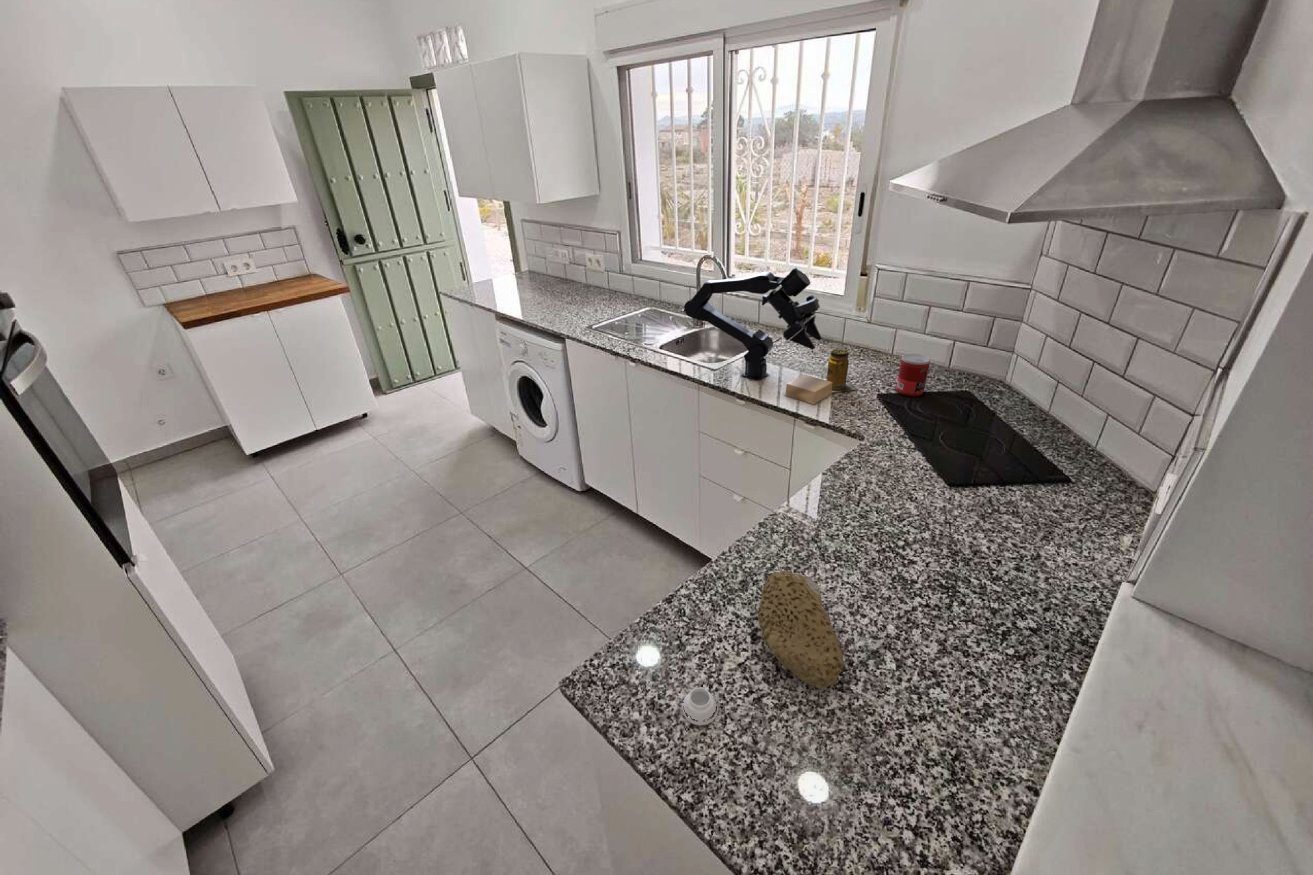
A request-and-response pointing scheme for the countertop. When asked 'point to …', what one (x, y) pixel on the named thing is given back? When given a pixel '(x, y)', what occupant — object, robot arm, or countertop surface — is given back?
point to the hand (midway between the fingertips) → (817, 344)
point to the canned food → (913, 374)
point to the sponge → (799, 629)
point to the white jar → (699, 706)
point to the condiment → (838, 371)
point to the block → (809, 389)
